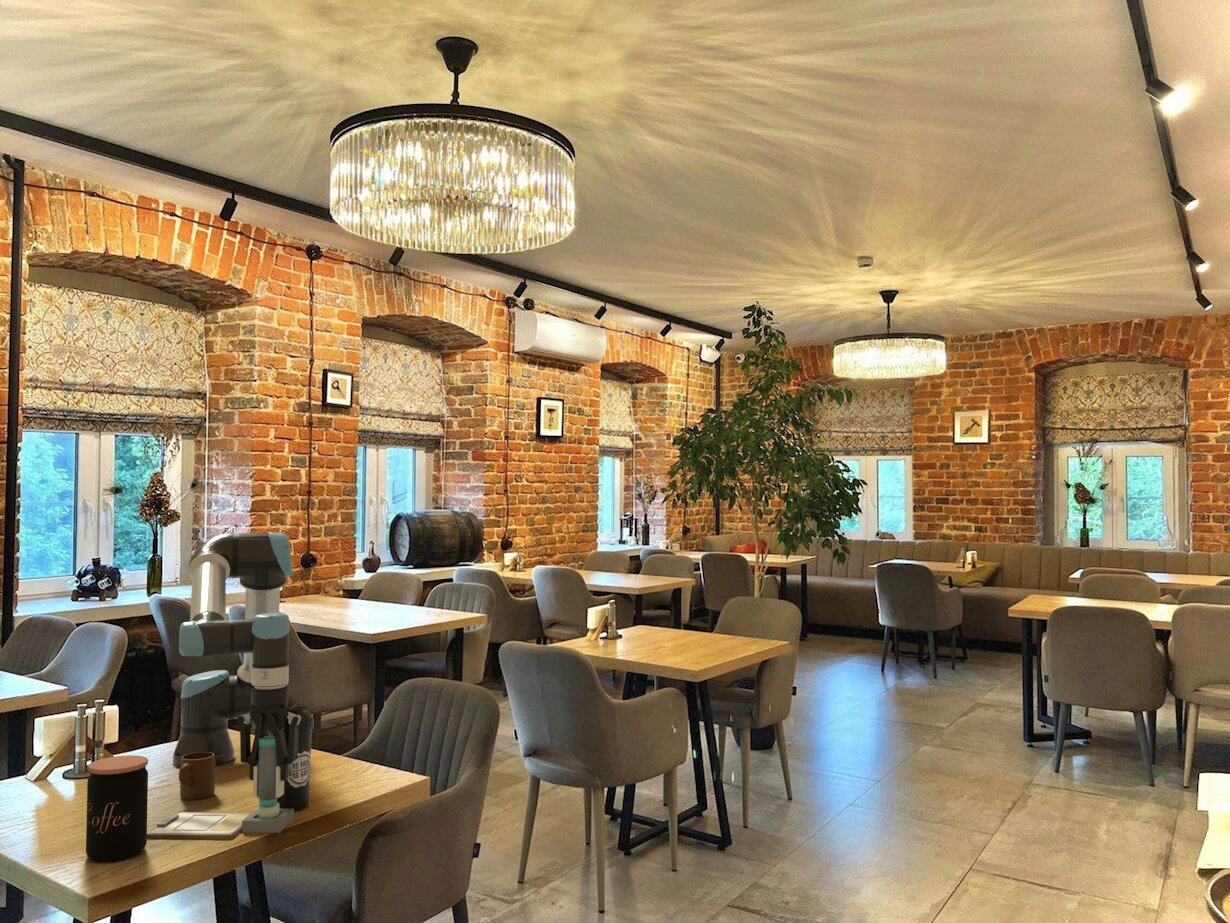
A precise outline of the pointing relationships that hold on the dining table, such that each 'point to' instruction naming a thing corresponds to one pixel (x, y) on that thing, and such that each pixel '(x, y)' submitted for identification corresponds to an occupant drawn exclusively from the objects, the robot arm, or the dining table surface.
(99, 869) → the dining table surface
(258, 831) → the button housing
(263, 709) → the robot arm
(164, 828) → the board
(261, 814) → the button
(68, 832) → the dining table surface
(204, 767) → the mug
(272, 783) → the marker
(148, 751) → the dining table surface
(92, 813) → the coffee jar
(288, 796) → the water bottle
